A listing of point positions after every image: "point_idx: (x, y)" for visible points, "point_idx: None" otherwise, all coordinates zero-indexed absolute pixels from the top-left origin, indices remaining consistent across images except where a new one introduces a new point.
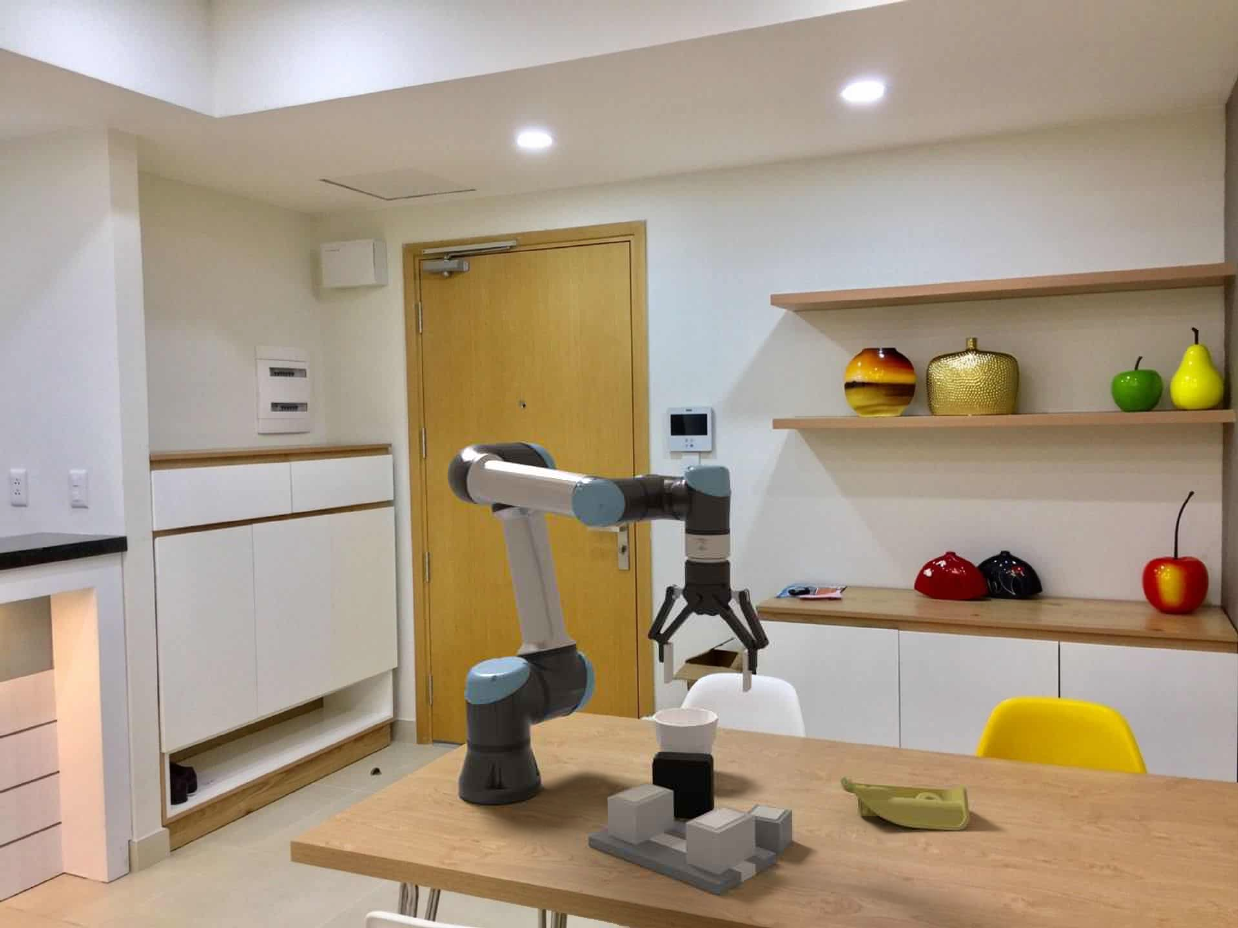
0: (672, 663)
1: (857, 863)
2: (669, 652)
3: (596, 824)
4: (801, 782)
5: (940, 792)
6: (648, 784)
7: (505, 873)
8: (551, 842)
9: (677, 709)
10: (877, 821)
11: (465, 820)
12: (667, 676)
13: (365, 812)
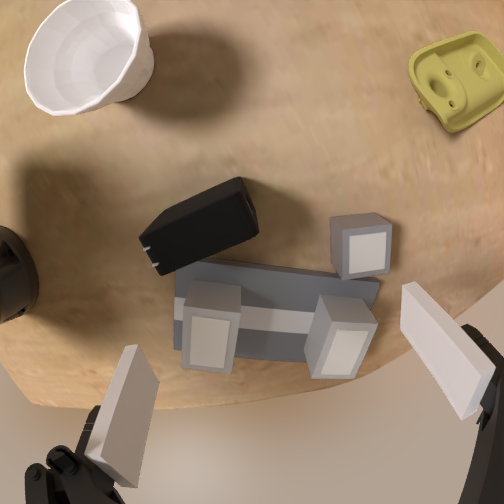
0: (127, 393)
1: (443, 234)
2: (133, 454)
3: (139, 296)
4: (299, 7)
5: (474, 35)
6: (193, 310)
7: (163, 404)
8: None
9: (44, 24)
10: None
11: (49, 343)
12: (154, 399)
13: (3, 357)
